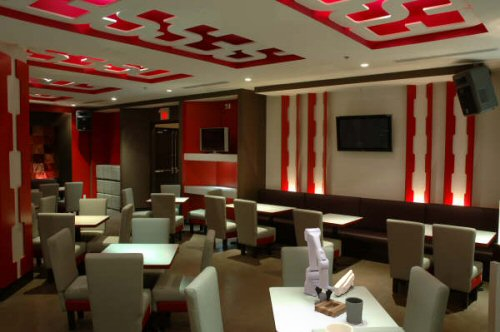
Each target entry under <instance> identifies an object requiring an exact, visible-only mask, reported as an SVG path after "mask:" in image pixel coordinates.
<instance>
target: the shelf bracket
mask: <svg viewBox="0 0 500 332" xmlns="http://www.w3.org/2000/svg"><path fill="white" fill-rule="evenodd" d="M354 280H355V273H353V270H352V269H350V270H349V271H347V273H345V275H343V276H342V277H341V278H340V279H339V280H338V281H337V282H336V284H334V285H333V288H334V291H333V293H334V295H335V296H337V297H340V296H341V295H342V294H343V295H345V294H346V293H347V291H348V290H349V289H350V287H354ZM345 292H346V293H345ZM344 293H345V294H344Z"/></svg>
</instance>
